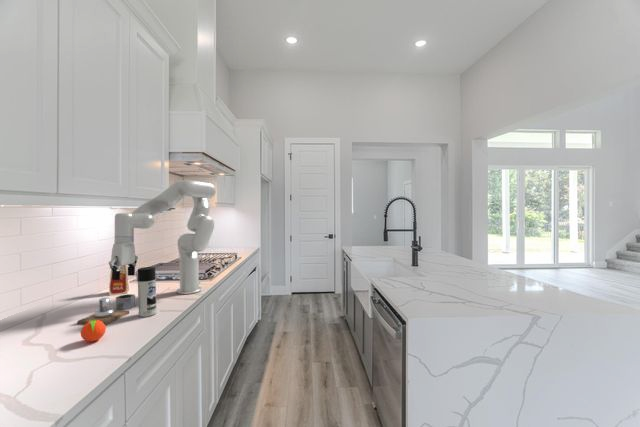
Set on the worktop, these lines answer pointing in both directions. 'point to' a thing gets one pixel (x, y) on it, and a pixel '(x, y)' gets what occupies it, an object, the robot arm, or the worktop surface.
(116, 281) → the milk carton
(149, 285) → the spray can
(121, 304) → the octagonal pot
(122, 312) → the base plate
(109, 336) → the worktop surface
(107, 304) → the grey rounded fixture
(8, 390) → the worktop surface
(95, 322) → the clementine
